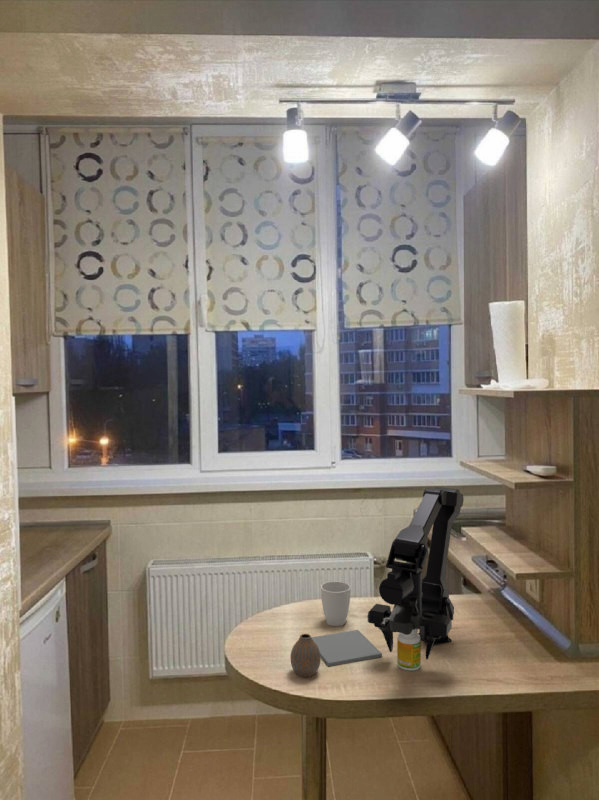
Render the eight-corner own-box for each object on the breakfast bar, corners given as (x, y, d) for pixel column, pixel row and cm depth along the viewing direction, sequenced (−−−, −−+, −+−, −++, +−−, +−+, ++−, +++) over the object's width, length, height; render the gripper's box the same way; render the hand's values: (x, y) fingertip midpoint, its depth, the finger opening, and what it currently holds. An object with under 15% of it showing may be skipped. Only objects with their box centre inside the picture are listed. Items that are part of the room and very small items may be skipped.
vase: (291, 665, 144) (291, 629, 144) (320, 665, 144) (320, 629, 144) (289, 680, 137) (289, 642, 137) (320, 680, 137) (320, 642, 137)
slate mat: (357, 632, 161) (357, 629, 161) (381, 656, 148) (382, 653, 148) (308, 640, 157) (308, 637, 157) (328, 666, 144) (328, 663, 144)
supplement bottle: (415, 673, 140) (415, 632, 140) (393, 667, 143) (393, 626, 142) (423, 663, 145) (424, 623, 144) (402, 658, 148) (402, 618, 147)
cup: (350, 616, 172) (350, 581, 171) (350, 629, 164) (350, 592, 163) (321, 615, 172) (321, 581, 172) (320, 628, 164) (319, 591, 164)
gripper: (359, 595, 140) (359, 662, 141) (441, 609, 131) (440, 680, 132) (375, 579, 150) (375, 641, 151) (452, 591, 141) (451, 657, 142)
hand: (408, 655), depth 144 cm, fingers open, 8 cm apart
